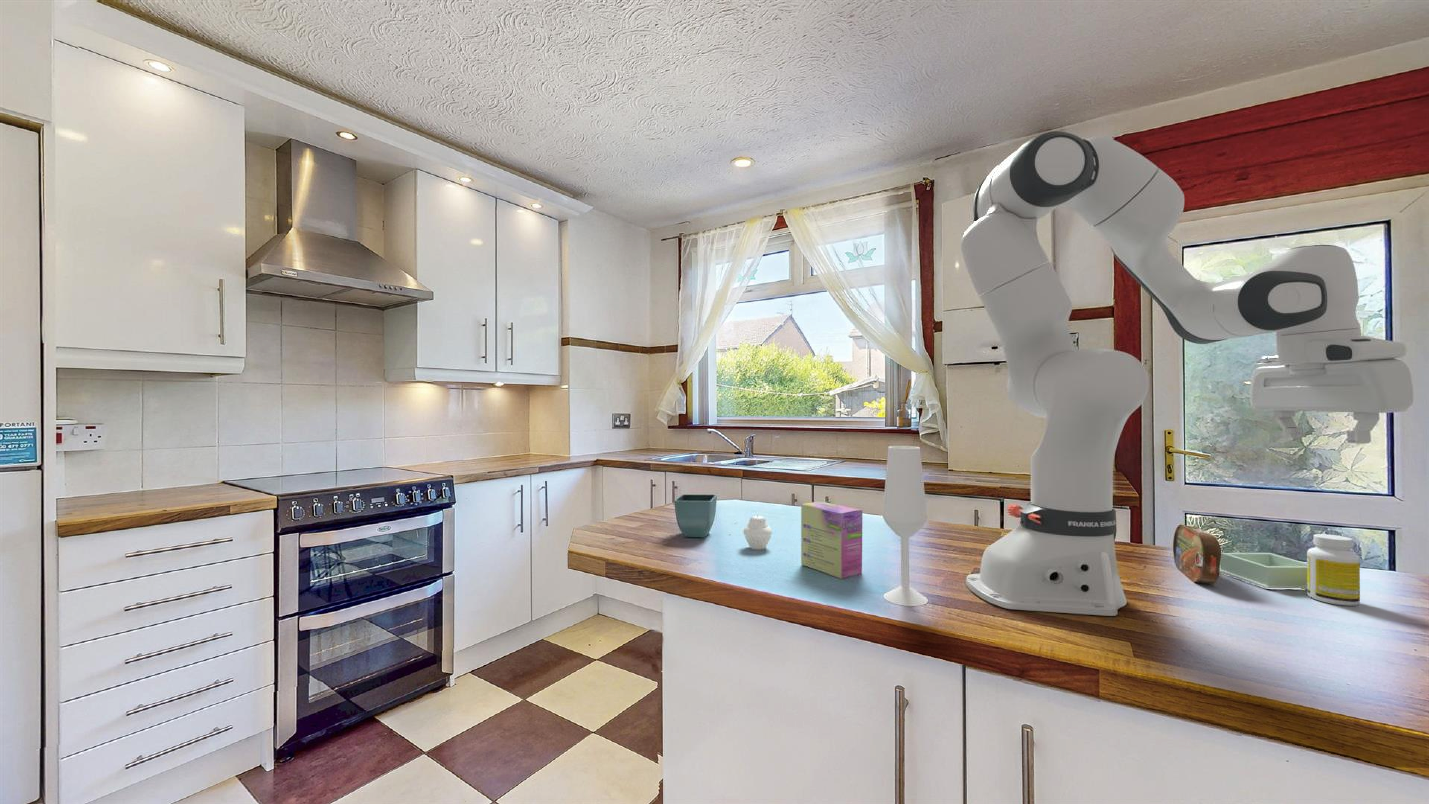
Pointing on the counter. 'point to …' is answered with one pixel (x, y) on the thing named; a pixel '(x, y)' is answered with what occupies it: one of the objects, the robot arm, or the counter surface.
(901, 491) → the champagne flute
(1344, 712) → the counter surface
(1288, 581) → the tray
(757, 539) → the white rounded piece
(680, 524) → the flower pot
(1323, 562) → the supplement bottle
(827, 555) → the box
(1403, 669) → the counter surface
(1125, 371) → the robot arm
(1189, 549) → the tin
